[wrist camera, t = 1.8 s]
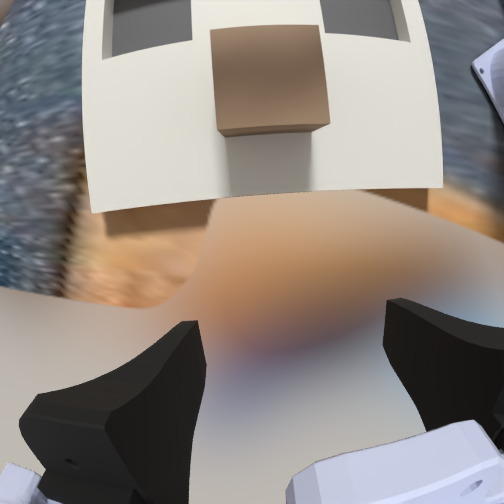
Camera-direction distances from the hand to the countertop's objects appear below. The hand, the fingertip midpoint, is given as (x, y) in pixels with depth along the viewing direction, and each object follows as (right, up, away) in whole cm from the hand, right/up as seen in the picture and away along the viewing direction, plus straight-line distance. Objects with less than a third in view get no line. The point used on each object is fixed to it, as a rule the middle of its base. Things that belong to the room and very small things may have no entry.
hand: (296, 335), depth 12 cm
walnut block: (-1, +12, +5) cm, 13 cm away
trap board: (-1, +20, +5) cm, 21 cm away
